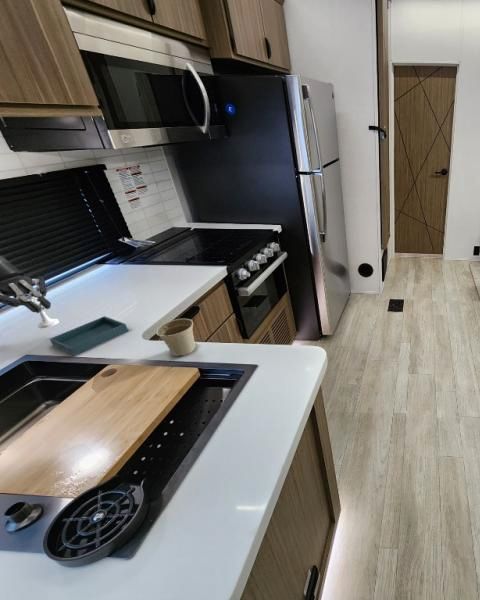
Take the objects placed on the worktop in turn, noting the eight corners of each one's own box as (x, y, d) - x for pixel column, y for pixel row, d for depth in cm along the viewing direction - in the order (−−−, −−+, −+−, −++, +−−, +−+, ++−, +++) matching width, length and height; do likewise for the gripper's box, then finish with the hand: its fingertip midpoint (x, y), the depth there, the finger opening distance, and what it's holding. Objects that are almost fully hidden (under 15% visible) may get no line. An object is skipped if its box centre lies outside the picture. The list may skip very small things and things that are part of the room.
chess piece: (34, 327, 106) (17, 299, 101) (51, 319, 110) (36, 292, 105) (45, 329, 105) (28, 301, 100) (63, 321, 109) (47, 294, 104)
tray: (74, 356, 99) (69, 348, 98) (53, 346, 104) (49, 338, 103) (128, 330, 111) (125, 323, 110) (107, 322, 116) (104, 316, 115)
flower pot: (186, 361, 96) (176, 337, 92) (158, 358, 98) (147, 334, 94) (208, 343, 105) (200, 319, 101) (182, 340, 106) (173, 317, 102)
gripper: (-36, 270, 93) (18, 313, 96) (24, 254, 105) (70, 293, 108) (-37, 285, 97) (15, 326, 100) (21, 268, 109) (66, 305, 112)
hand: (44, 309), depth 104 cm, fingers closed on chess piece
